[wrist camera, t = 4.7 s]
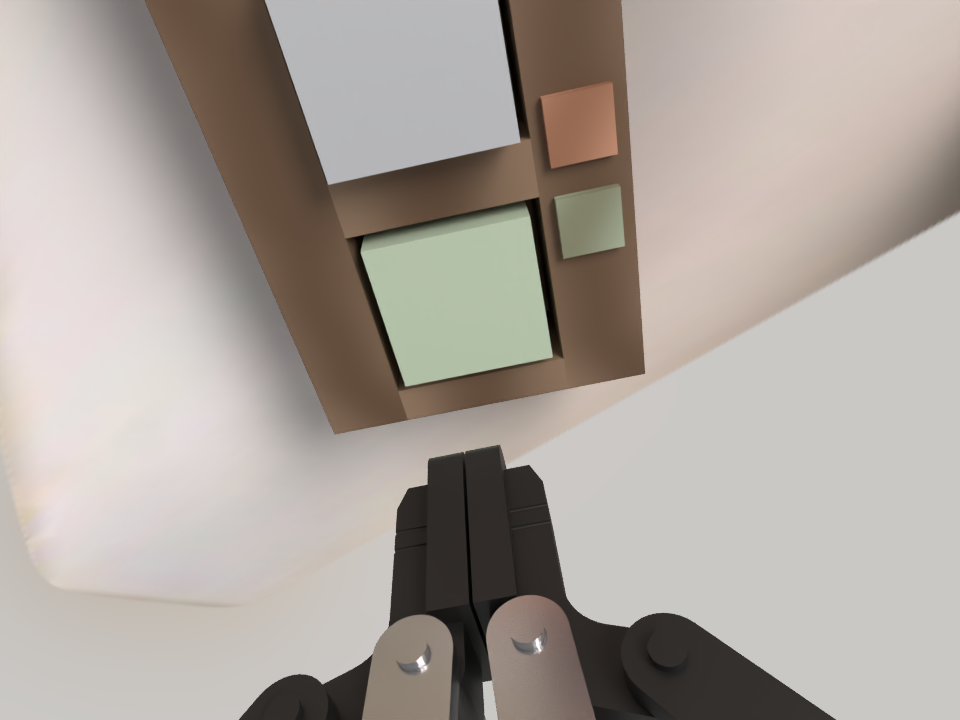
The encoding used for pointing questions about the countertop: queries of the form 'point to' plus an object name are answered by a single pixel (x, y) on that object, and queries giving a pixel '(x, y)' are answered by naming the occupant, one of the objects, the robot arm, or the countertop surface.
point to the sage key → (460, 293)
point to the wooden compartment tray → (429, 202)
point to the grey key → (397, 80)
